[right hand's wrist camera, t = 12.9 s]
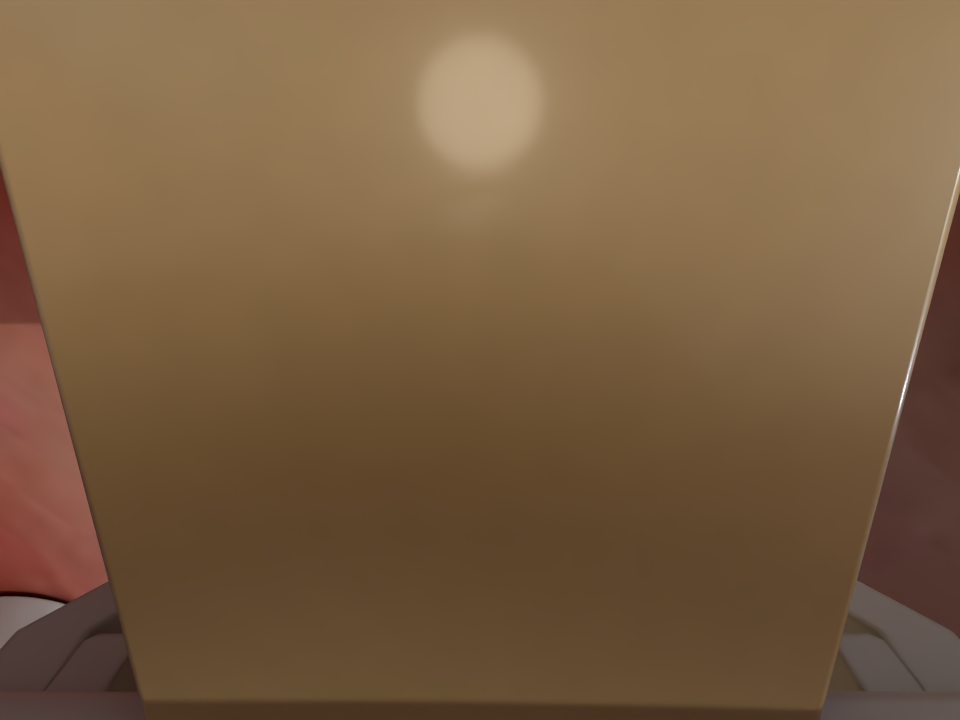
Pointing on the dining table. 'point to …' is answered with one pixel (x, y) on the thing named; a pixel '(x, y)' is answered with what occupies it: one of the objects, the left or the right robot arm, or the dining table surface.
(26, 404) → the dining table surface
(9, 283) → the dining table surface
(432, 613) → the bar
